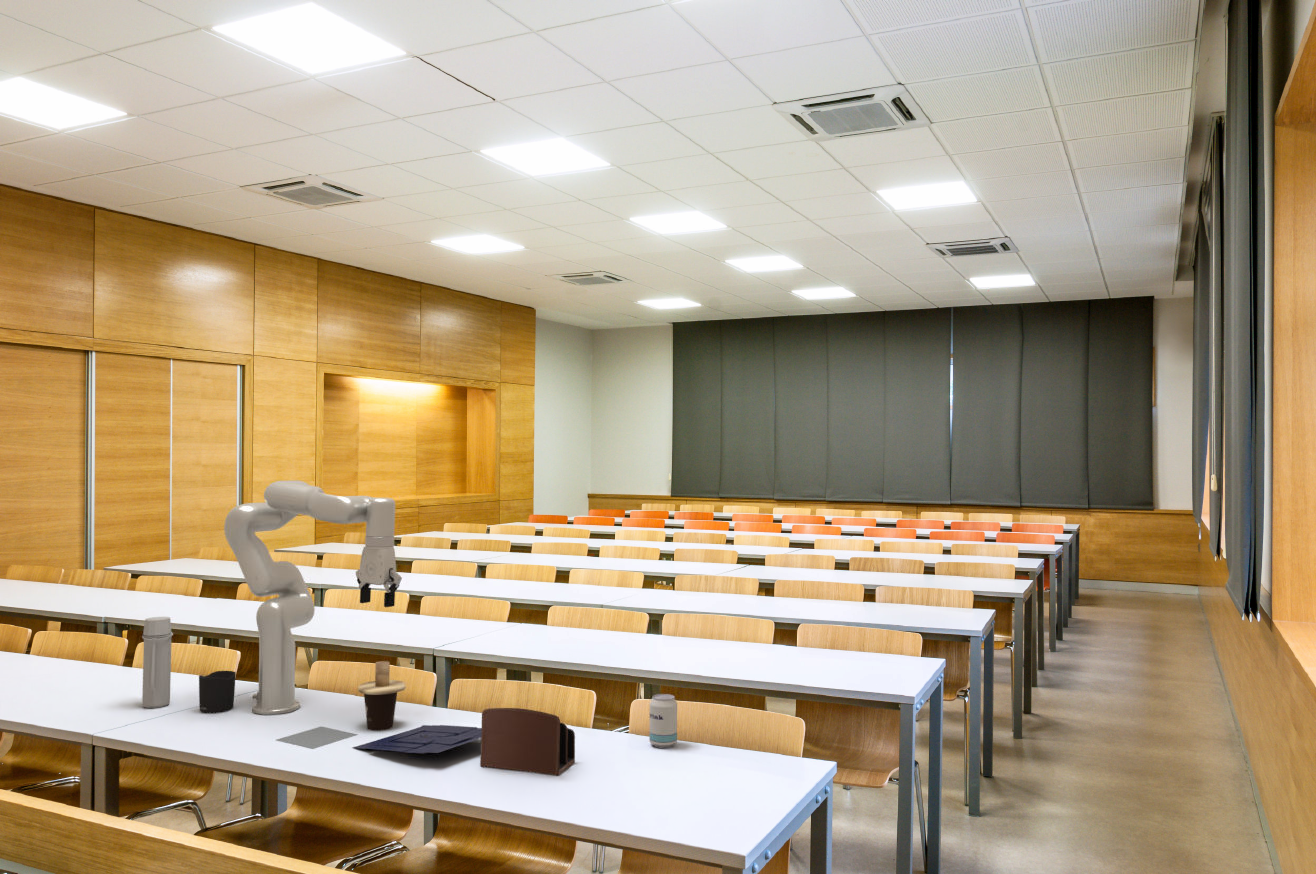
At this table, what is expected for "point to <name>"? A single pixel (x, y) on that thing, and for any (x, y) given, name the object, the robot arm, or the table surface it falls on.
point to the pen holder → (217, 691)
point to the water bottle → (156, 662)
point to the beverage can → (663, 721)
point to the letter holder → (526, 741)
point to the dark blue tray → (426, 739)
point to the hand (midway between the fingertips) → (377, 604)
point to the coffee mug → (380, 711)
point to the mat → (316, 737)
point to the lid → (382, 682)
